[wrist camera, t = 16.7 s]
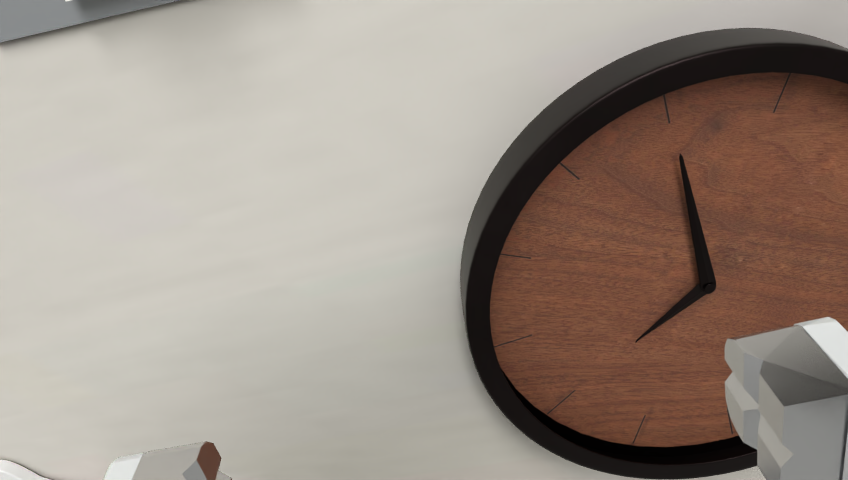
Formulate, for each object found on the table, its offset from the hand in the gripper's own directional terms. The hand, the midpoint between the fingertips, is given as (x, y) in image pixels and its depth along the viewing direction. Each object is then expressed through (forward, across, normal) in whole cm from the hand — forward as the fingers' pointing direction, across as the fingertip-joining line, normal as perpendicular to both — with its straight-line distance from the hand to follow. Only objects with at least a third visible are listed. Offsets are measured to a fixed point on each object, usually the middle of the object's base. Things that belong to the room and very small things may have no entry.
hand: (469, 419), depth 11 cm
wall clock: (+31, -15, +20) cm, 40 cm away
